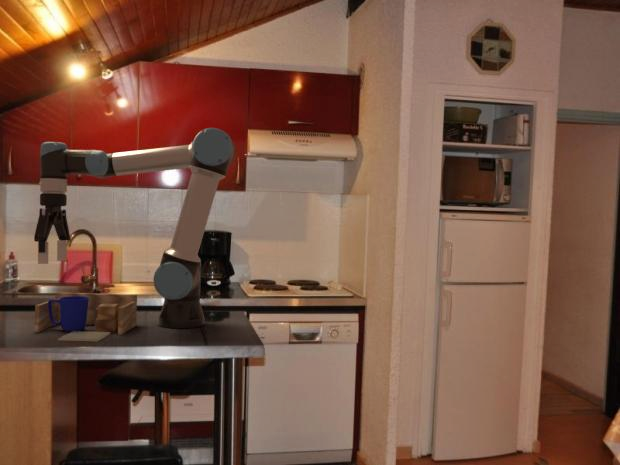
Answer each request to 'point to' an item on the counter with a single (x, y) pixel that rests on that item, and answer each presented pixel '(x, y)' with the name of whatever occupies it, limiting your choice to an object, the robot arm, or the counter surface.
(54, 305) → the rack
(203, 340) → the counter surface
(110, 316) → the offcut oak
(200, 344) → the counter surface
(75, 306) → the mug
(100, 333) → the sage tile
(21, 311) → the counter surface
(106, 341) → the counter surface
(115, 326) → the offcut walnut
